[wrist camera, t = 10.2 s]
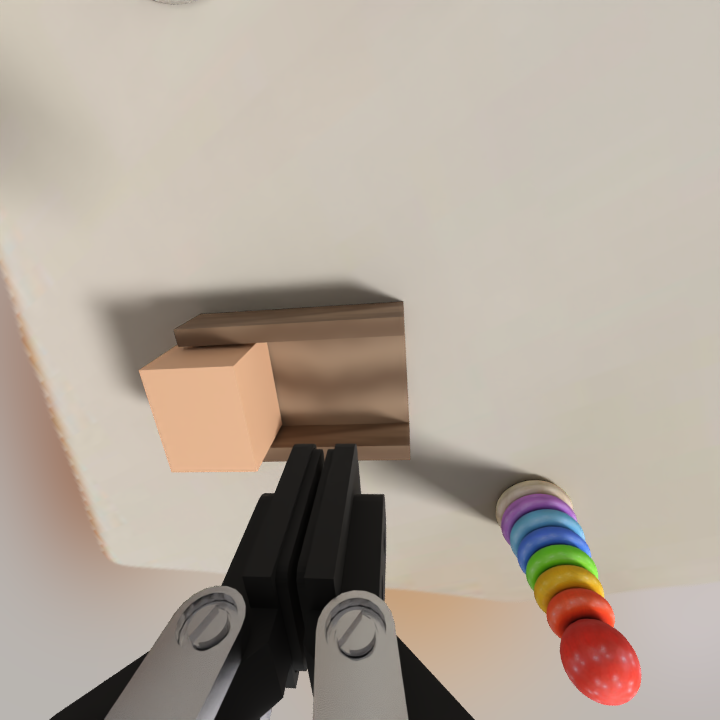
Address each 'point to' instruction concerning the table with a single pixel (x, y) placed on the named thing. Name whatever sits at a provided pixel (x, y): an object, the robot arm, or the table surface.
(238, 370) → the block
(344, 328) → the chute
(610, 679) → the stacking toy
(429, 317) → the table surface
